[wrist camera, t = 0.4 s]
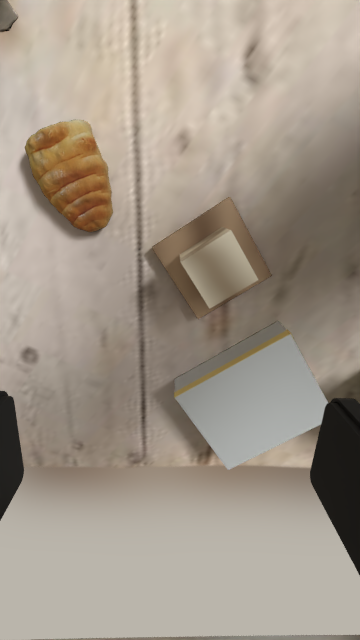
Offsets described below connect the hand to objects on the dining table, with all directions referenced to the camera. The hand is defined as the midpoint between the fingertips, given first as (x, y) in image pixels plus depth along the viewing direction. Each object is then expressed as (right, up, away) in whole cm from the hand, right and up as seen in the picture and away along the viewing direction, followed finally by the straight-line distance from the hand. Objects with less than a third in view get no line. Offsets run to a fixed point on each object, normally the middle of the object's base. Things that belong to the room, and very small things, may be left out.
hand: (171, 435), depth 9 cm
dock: (+9, -5, +29) cm, 31 cm away
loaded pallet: (+4, +10, +24) cm, 26 cm away
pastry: (-10, +18, +21) cm, 29 cm away
